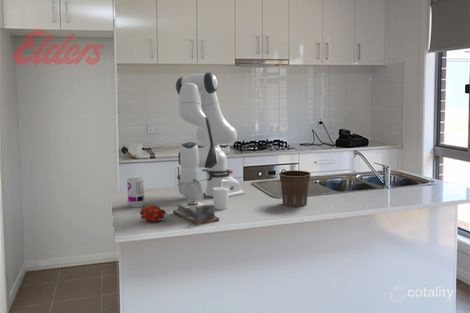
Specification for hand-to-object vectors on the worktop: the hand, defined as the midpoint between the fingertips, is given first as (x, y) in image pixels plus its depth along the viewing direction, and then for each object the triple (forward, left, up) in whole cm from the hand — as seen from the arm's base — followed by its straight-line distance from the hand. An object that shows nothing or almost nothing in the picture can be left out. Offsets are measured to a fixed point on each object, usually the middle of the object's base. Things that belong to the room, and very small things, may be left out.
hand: (191, 206), depth 222 cm
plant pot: (-53, +11, -4) cm, 54 cm away
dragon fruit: (+19, +1, -4) cm, 20 cm away
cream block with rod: (+2, +8, -2) cm, 8 cm away
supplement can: (+16, -31, -4) cm, 35 cm away
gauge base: (0, +5, -4) cm, 6 cm away
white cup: (-18, -3, -4) cm, 19 cm away
